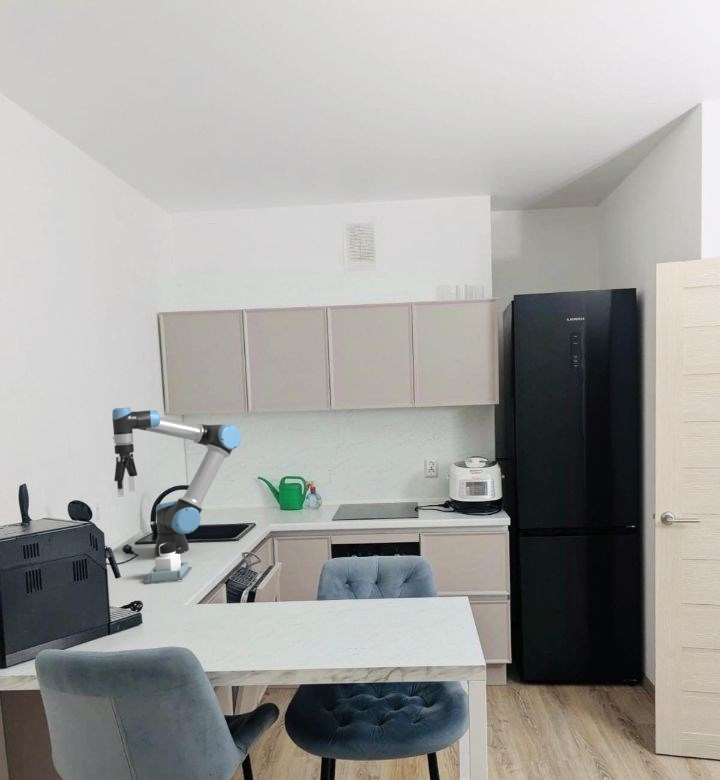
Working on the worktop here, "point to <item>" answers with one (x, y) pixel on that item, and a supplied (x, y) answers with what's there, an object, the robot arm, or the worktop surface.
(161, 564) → the medicine bottle
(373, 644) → the worktop surface
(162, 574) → the shallow blue tray
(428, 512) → the worktop surface
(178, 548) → the robot arm
